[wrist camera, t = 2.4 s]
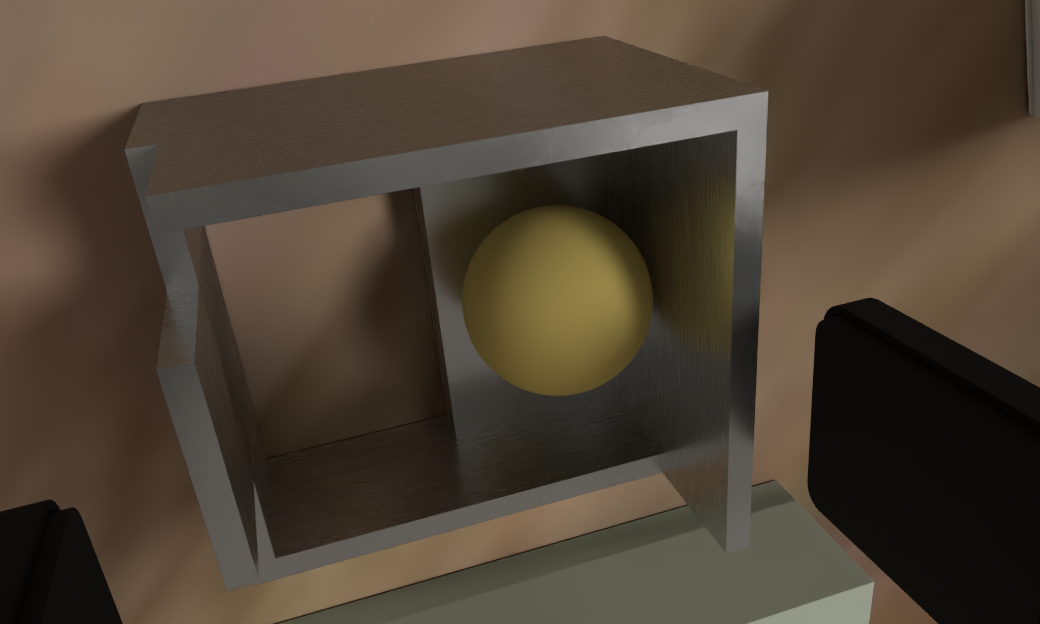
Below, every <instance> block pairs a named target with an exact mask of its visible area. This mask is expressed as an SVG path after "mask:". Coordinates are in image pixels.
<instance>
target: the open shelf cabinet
mask: <svg viewBox="0 0 1040 624" xmlns="http://www.w3.org/2000/svg"><path fill="white" fill-rule="evenodd" d="M767 113H768V91H767V90H764V89H761V88H758V87H755V86H752V85H749V84H746V83H743V82H740V81H737V80H734V79H731V78H728V77H725V76H722V75H719V74H716V73H713V72H710V71H707V70H704V69H701V68H699V67H696V66H693V65H690V64H687V63H684V62H681V61H678V60H675V59H672V58H669V57H666V56H663V55H660V54H657V53H654V52H651V51H648V50H645V49H642V48H639V47H636V46H633V45H630V44H628V43H625V42H622V41H619V40H616V39H613V38H610V37H607V36H602V37H595V38H588V39H581V40H574V41H568V42H561V43H554V44H547V45H540V46H533V47H526V48H520V49H513V50H506V51H499V52H492V53H485V54H478V55H471V56H465V57H458V58H451V59H444V60H437V61H430V62H423V63H417V64H410V65H403V66H396V67H389V68H382V69H375V70H369V71H362V72H355V73H348V74H341V75H334V76H327V77H321V78H314V79H307V80H300V81H293V82H286V83H279V84H273V85H266V86H259V87H252V88H245V89H238V90H231V91H225V92H218V93H211V94H204V95H197V96H190V97H183V98H176V99H170V100H163V101H156V102H149V103H142V105H141V108H140V110H139V113H138V116H137V118H136V121H135V123H134V126H133V128H132V131H131V133H130V136H129V139H128V141H127V144H126V146H125V149H124V151H125V154H126V157H127V161H128V164H129V167H130V171H131V174H132V177H133V181H134V184H135V187H136V191H137V194H138V197H139V201H140V204H141V207H142V211H143V214H144V217H145V221H146V224H147V227H148V231H149V234H150V237H151V241H152V244H153V247H154V251H155V254H156V257H157V261H158V264H159V267H160V271H161V274H162V277H163V281H164V284H165V287H166V291H167V294H166V302H165V309H164V316H163V323H162V331H161V338H160V345H159V352H158V360H157V367H156V372H157V375H158V378H159V381H160V384H161V387H162V390H163V394H164V397H165V400H166V403H167V406H168V409H169V412H170V415H171V419H172V422H173V425H174V428H175V431H176V434H177V437H178V440H179V444H180V447H181V450H182V453H183V456H184V459H185V462H186V465H187V468H188V472H189V475H190V478H191V481H192V484H193V487H194V490H195V493H196V497H197V500H198V503H199V506H200V509H201V512H202V515H203V518H204V522H205V525H206V528H207V531H208V534H209V537H210V540H211V543H212V546H213V550H214V553H215V556H216V559H217V562H218V565H219V568H220V571H221V575H222V578H223V581H224V584H225V587H226V590H227V591H228V590H232V589H235V588H239V587H243V586H246V585H250V584H255V585H257V584H261V583H264V582H268V581H271V580H275V579H279V578H282V577H286V576H289V575H293V574H297V573H300V572H304V571H308V570H311V569H315V568H318V567H322V566H326V565H329V564H333V563H336V562H340V561H344V560H347V559H351V558H355V557H358V556H362V555H365V554H369V553H373V552H376V551H380V550H383V549H387V548H391V547H394V546H398V545H402V544H405V543H409V542H412V541H416V540H420V539H423V538H427V537H430V536H434V535H438V534H441V533H445V532H449V531H452V530H456V529H459V528H463V527H467V526H470V525H474V524H477V523H481V522H485V521H488V520H492V519H496V518H499V517H503V516H506V515H510V514H514V513H517V512H521V511H524V510H528V509H532V508H535V507H539V506H543V505H546V504H550V503H553V502H557V501H561V500H564V499H568V498H571V497H575V496H579V495H582V494H586V493H590V492H593V491H597V490H600V489H604V488H608V487H611V486H615V485H618V484H622V483H626V482H629V481H633V480H637V479H640V478H644V477H647V476H651V475H655V474H658V473H662V472H663V474H664V475H665V476H666V477H667V479H668V480H669V481H670V483H671V484H672V485H673V486H674V488H675V489H676V490H677V491H678V493H679V494H680V495H681V497H682V498H683V499H684V500H685V502H686V503H687V504H688V506H689V507H690V508H691V509H692V511H693V512H694V513H695V515H696V516H697V517H698V518H699V520H700V521H701V522H702V523H703V525H704V526H705V527H706V529H707V530H708V531H709V532H710V534H711V535H712V536H713V538H714V539H715V540H716V541H717V543H718V544H719V545H720V547H721V548H722V549H723V550H724V552H725V553H729V552H733V551H736V550H739V549H743V548H746V547H749V539H750V515H751V492H752V468H753V444H754V421H755V397H756V373H757V350H758V326H759V302H760V278H761V255H762V231H763V207H764V184H765V160H766V136H767ZM411 188H413V194H414V201H415V207H416V214H417V221H418V228H419V234H420V241H421V248H422V254H423V261H424V268H425V274H426V281H427V288H428V295H429V301H430V308H431V315H432V321H433V328H434V335H435V342H436V348H437V355H438V362H439V368H440V375H441V382H442V388H443V395H444V402H445V409H446V415H445V416H441V417H437V418H433V419H429V420H425V421H421V422H416V423H412V424H408V425H404V426H400V427H396V428H392V429H388V430H384V431H380V432H376V433H371V434H367V435H363V436H359V437H355V438H351V439H347V440H343V441H339V442H335V443H330V444H326V445H322V446H318V447H314V448H310V449H306V450H302V451H298V452H294V453H290V454H285V455H281V456H277V457H273V458H269V459H267V458H266V454H265V450H264V447H263V443H262V439H261V436H260V432H259V428H258V424H257V421H256V417H255V413H254V409H253V406H252V402H251V398H250V394H249V391H248V387H247V383H246V380H245V376H244V372H243V368H242V365H241V361H240V357H239V353H238V350H237V346H236V342H235V338H234V335H233V331H232V327H231V324H230V320H229V316H228V312H227V309H226V305H225V301H224V297H223V294H222V290H221V286H220V283H219V279H218V275H217V271H216V268H215V264H214V260H213V256H212V253H211V249H210V245H209V241H208V238H207V234H206V230H205V227H204V226H206V225H211V224H217V223H222V222H228V221H233V220H239V219H244V218H250V217H256V216H261V215H267V214H272V213H278V212H283V211H289V210H294V209H300V208H306V207H311V206H317V205H322V204H328V203H333V202H339V201H345V200H350V199H356V198H361V197H367V196H372V195H378V194H383V193H389V192H395V191H400V190H406V189H411ZM550 205H566V206H574V207H579V208H583V209H586V210H589V211H592V212H594V213H596V214H598V215H601V216H603V217H605V218H606V219H608V220H609V221H611V222H612V223H614V224H615V225H616V226H618V227H619V228H620V229H621V230H622V231H623V232H625V233H626V234H627V236H628V237H629V238H630V239H631V240H632V242H633V243H634V244H635V246H636V247H637V248H638V250H639V252H640V253H641V255H642V257H643V259H644V261H645V263H646V266H647V269H648V271H649V275H650V280H651V284H652V291H653V309H652V317H651V322H650V326H649V330H648V332H647V335H646V337H645V340H644V342H643V344H642V346H641V347H640V349H639V351H638V352H637V354H636V355H635V357H634V358H633V359H632V360H631V362H630V363H629V364H628V365H627V366H626V367H625V368H624V369H623V370H622V371H621V372H620V373H619V374H617V375H616V376H615V377H614V378H612V379H611V380H609V381H608V382H606V383H605V384H603V385H601V386H599V387H597V388H594V389H592V390H589V391H586V392H582V393H578V394H574V395H566V396H550V395H542V394H537V393H533V392H530V391H527V390H523V389H521V388H519V387H517V386H514V385H512V384H511V383H509V382H507V381H506V380H504V379H503V378H501V377H500V376H498V375H497V374H496V373H495V372H494V371H493V370H492V369H491V368H490V367H489V366H488V365H487V364H486V363H485V362H484V361H483V359H482V358H481V357H480V355H479V354H478V352H477V351H476V349H475V347H474V345H473V344H472V342H471V340H470V337H469V334H468V331H467V329H466V326H465V321H464V317H463V306H462V293H463V285H464V280H465V276H466V273H467V270H468V267H469V264H470V262H471V260H472V257H473V255H474V253H475V252H476V250H477V249H478V247H479V246H480V244H481V243H482V242H483V240H484V239H485V238H486V237H487V236H488V235H489V234H490V233H491V232H492V231H493V230H494V229H495V228H496V227H497V226H499V225H500V224H501V223H503V222H504V221H506V220H507V219H509V218H511V217H513V216H514V215H517V214H519V213H521V212H523V211H526V210H529V209H532V208H536V207H542V206H550Z"/></svg>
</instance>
